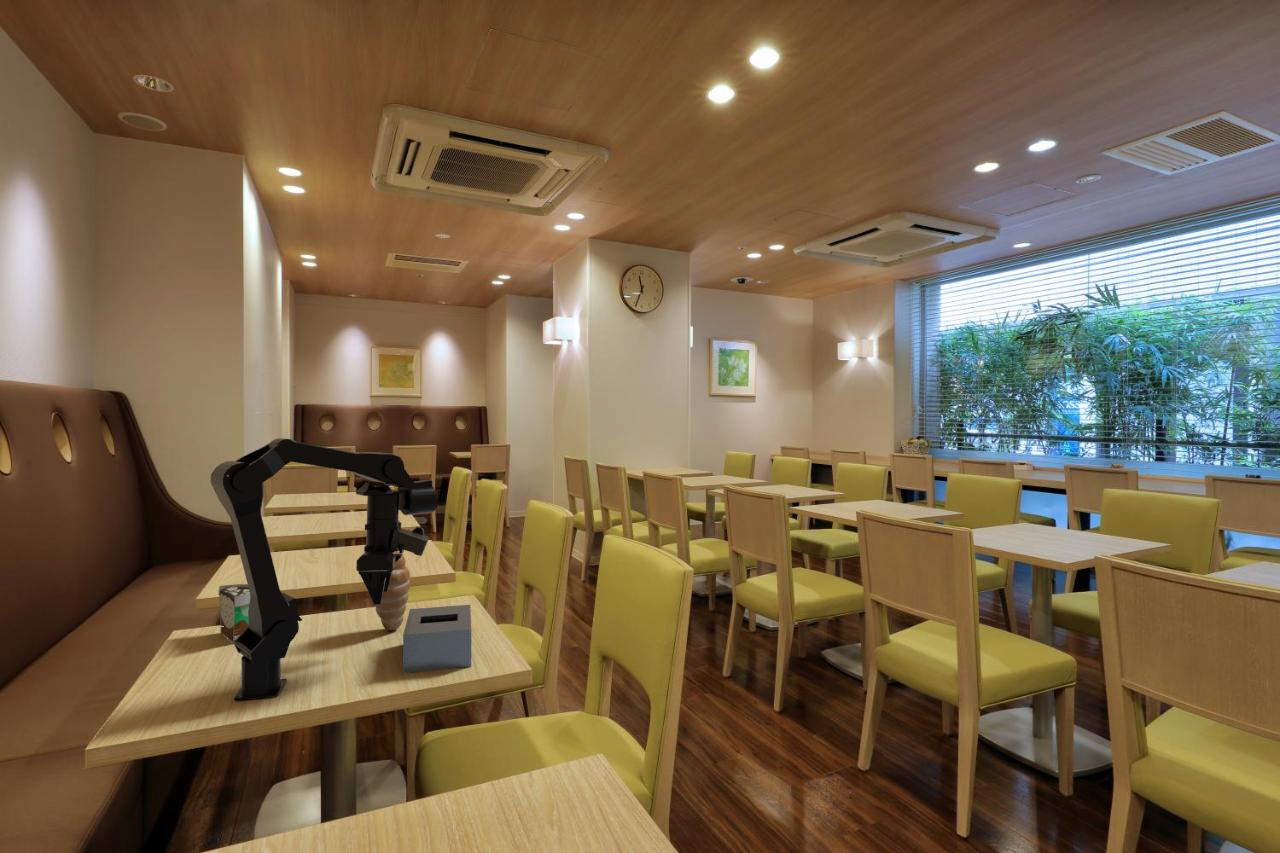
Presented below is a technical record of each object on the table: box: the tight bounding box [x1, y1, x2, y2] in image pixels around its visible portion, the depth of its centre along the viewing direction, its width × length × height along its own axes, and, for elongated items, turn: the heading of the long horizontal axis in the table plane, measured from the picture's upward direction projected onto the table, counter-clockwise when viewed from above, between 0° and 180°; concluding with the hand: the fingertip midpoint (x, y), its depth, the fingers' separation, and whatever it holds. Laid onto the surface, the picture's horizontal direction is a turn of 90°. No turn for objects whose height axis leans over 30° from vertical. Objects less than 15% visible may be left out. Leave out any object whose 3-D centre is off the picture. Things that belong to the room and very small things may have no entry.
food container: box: [218, 583, 250, 645], centre depth 136 cm, size 12×6×10 cm, turn 47°
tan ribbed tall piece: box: [374, 551, 411, 632], centre depth 139 cm, size 9×8×18 cm
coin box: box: [402, 604, 472, 674], centre depth 126 cm, size 16×12×7 cm
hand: (381, 597), depth 124 cm, fingers open, 9 cm apart
